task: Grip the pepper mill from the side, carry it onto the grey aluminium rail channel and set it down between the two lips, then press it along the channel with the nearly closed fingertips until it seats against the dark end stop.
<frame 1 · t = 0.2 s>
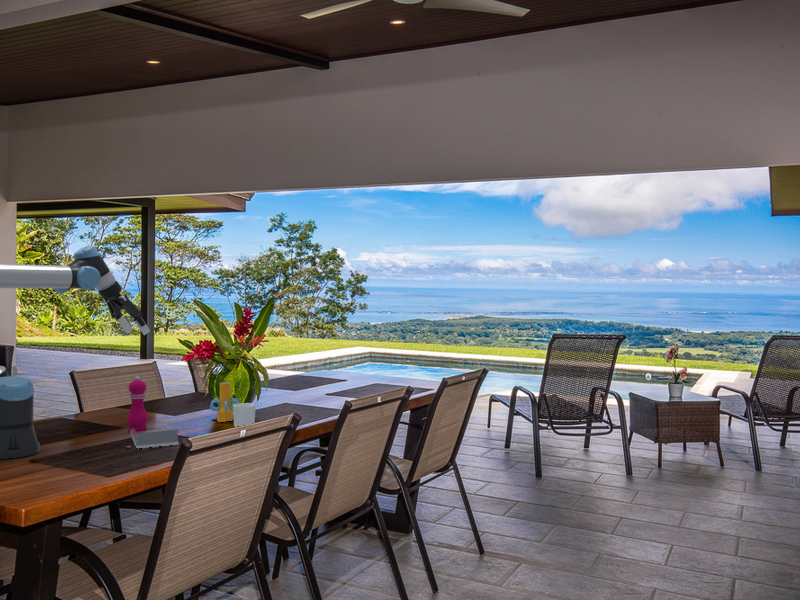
hand: (138, 332, 252), 35 cm above the table, tool tilted 35°, fingers open, 13 cm apart
pepper mill: (137, 431, 241), on the table
yellow post with rings: (225, 421, 259), on the table
white cup: (244, 433, 240), on the table
rail: (153, 439, 228), on the table
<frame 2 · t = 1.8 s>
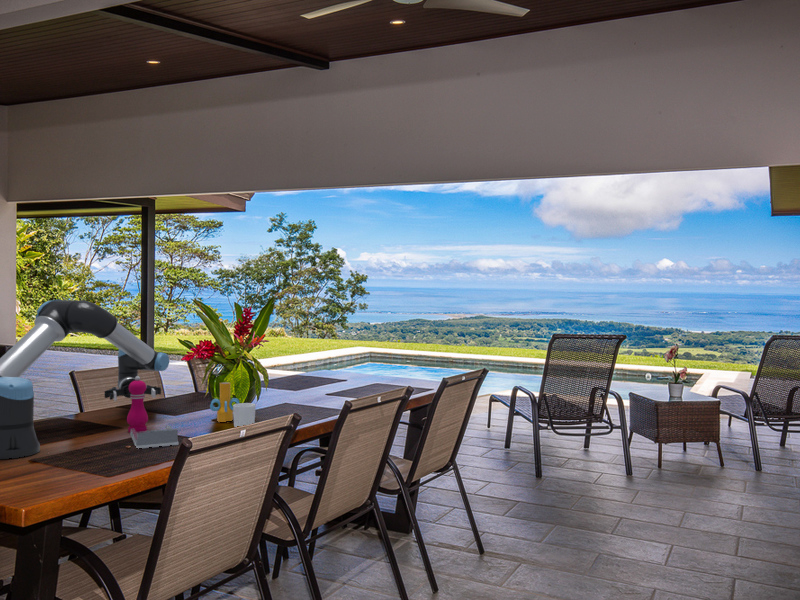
hand: (135, 395, 249), 11 cm above the table, tool horizontal, fingers open, 13 cm apart
nothing on the table moved.
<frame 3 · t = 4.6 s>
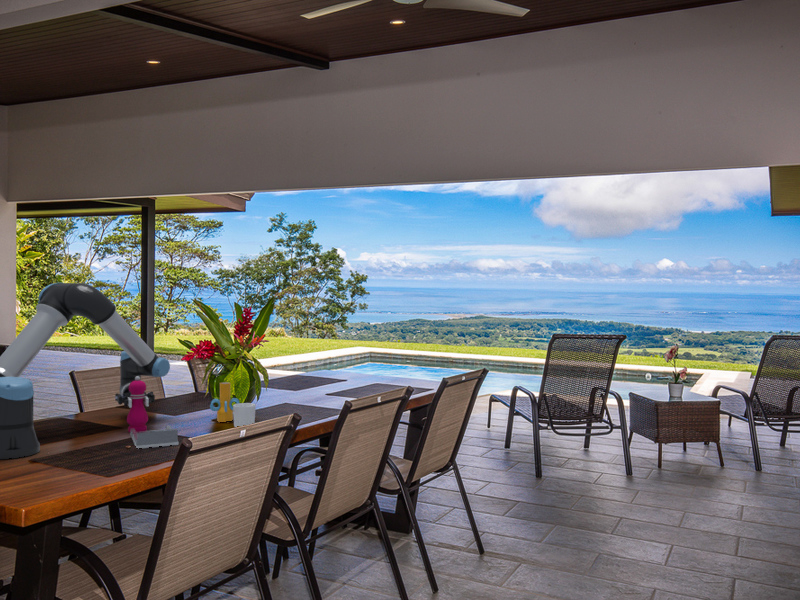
hand: (139, 403, 236), 11 cm above the table, tool horizontal, fingers closed on pepper mill, 5 cm apart
pepper mill: (137, 431, 241), on the table, touching gripper
everything else where it was.
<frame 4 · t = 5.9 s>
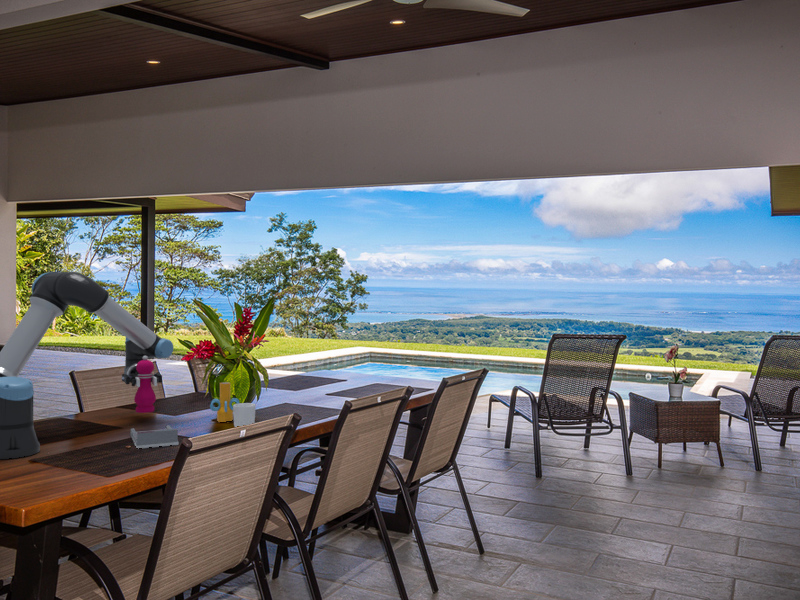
hand: (147, 382, 234), 19 cm above the table, tool horizontal, fingers closed on pepper mill, 5 cm apart
pepper mill: (145, 411, 239), point 7 cm above the table, touching gripper
everything else where it was.
when the fingers open (13 cm above the table, at t = 7.5 s): pepper mill stays where it is, resting on rail.
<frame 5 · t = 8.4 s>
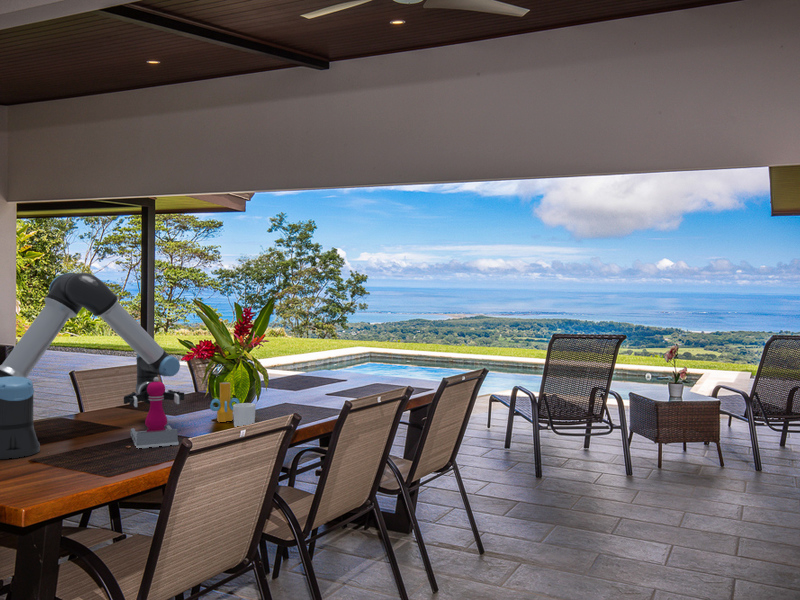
hand: (157, 401, 228), 13 cm above the table, tool horizontal, fingers open, 13 cm apart
pepper mill: (156, 435, 231), point 1 cm above the table, touching rail
everything else where it was.
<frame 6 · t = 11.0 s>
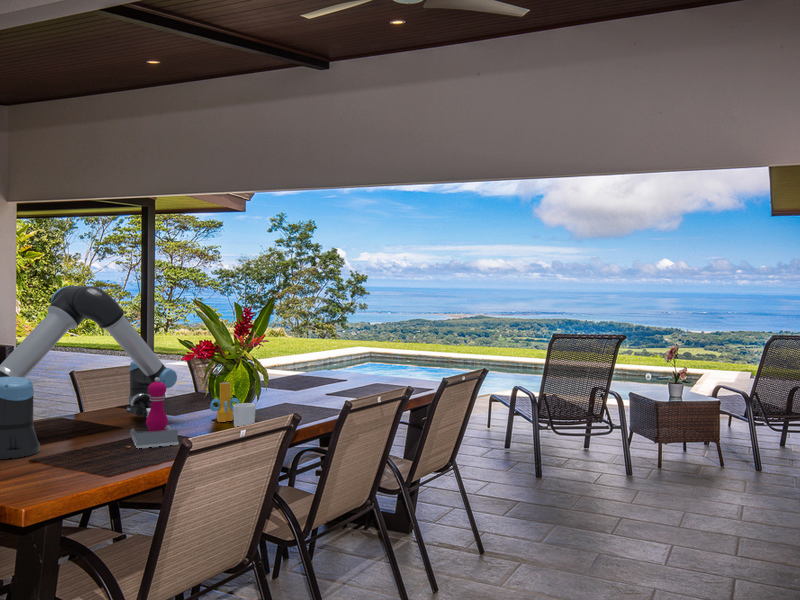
hand: (150, 415, 233), 7 cm above the table, tool horizontal, fingers closed
pepper mill: (157, 435, 231), point 1 cm above the table, touching gripper
everything else where it was.
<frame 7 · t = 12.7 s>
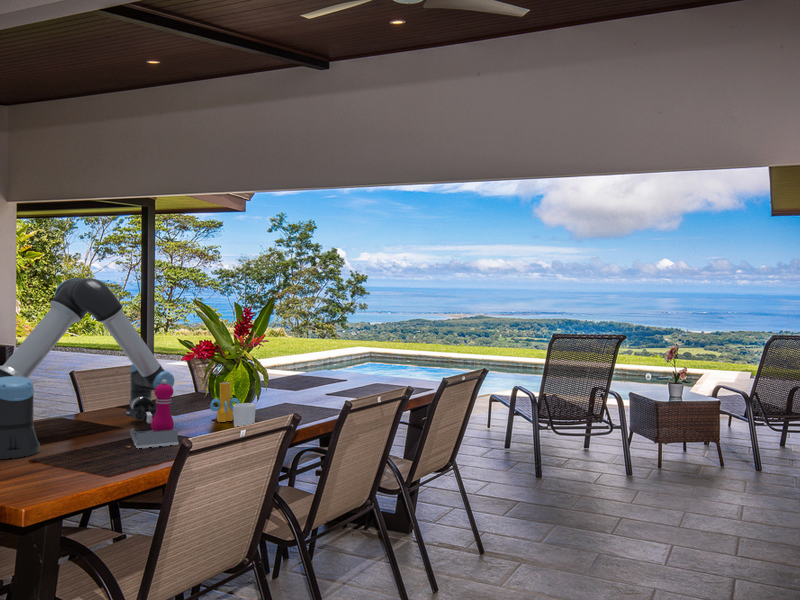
hand: (150, 419, 225), 8 cm above the table, tool horizontal, fingers closed
pepper mill: (161, 438, 225), point 1 cm above the table, touching gripper, rail
everything else where it was.
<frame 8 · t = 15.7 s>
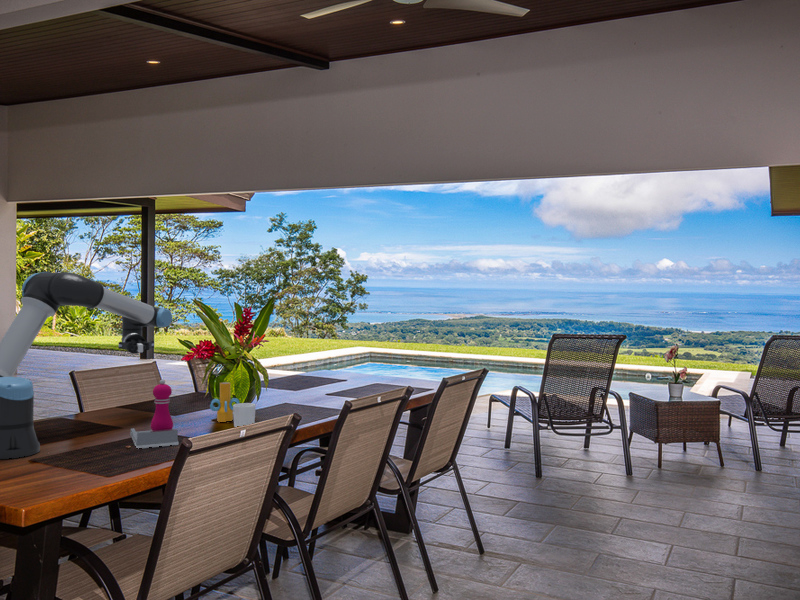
hand: (140, 348, 240), 30 cm above the table, tool horizontal, fingers closed
pepper mill: (161, 439, 225), point 1 cm above the table, touching rail
everything else where it was.
at the end: pepper mill inside the target area on the rail (3.3 cm from its centre), point 0.9 cm above the rail's base; pepper mill tilted 1°; pepper mill touching rail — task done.
